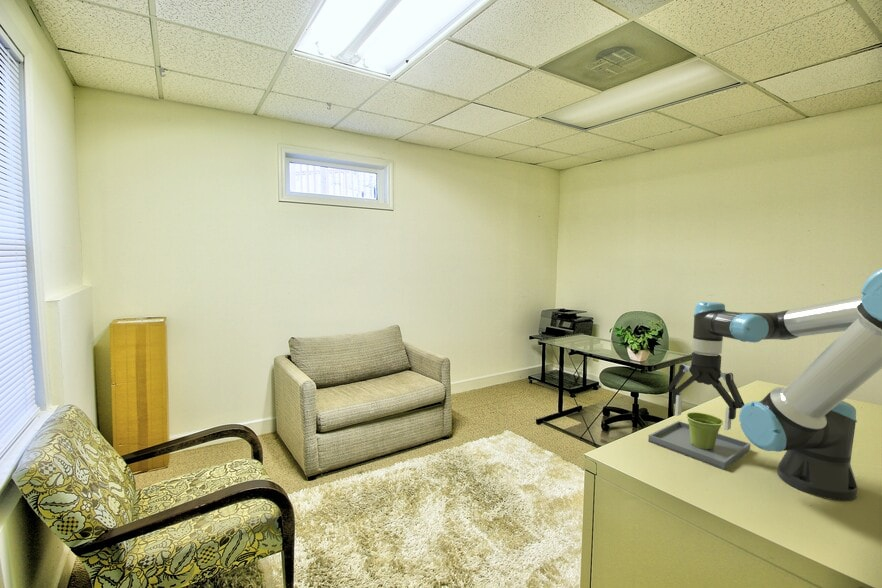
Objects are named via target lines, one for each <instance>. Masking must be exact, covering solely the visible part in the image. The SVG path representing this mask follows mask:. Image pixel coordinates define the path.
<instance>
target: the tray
mask: <svg viewBox="0 0 882 588" xmlns="http://www.w3.org/2000/svg"><path fill="white" fill-rule="evenodd" d="M647 439H648V440H647V441H648V443H651V444H654V445H656V446H659V447H662V448H664V449H667V450H670V451H673V452H675V453H678V454H679V455H682V456H686V457H688V458H691V459H694V460H697V461H699V462H702V463H703V464H706V465H707V464H708V465H710V466H713V467H714V468H717V469H720V470H723V471H725V470H726V469H728V468H729V467H730V466H731V465H733V464H734V463H735V462H737V461H738V460H739V459H741V458H743V456H744V455H746V454H747V453H749V452H750V451H751V445H752V443H751V442H750V443H749V442H746V441H743V440H739V439H737V438H734V437H731V436H727V435H724V434H721V433H718V435H717V438H716V442H715V446H714V449H707V450H705V449H701V448H697V447H695V446H694V445H693V444H691V443H690V430H689V423H686V422H683V421H681V420H677V421H675V422H673V423H671V424H669V425H667V426H665V427H663V428H660V429H659V430H657V431H654V432H652V433H650V434H648V438H647Z"/></svg>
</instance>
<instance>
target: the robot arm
mask: <svg viewBox="0 0 882 588" xmlns="http://www.w3.org/2000/svg"><path fill="white" fill-rule="evenodd" d="M861 294H862V295H859V296H854V297H849V298H844V299H837V300H833V301H828V302H824V303H823V302H822V303H817V304H813V305H807V306H801V307H797V308H792V309H787V310H782V311H775V312H740V311H739V312H737V311H729V310H728V311H727V310H726V305H725V304H724V303H722V302H715V301H713V302H712V301H699V302H696V304H695V308H694V314H693V317H694V318H693V334H692V346H691V350H692V351H693V352H691V360H690V361H691V362H690V363H691V364H690V366H689V365H687V364H686V363H683V364H680V365H679V366H678V367H679V368H678V371H677V372H676V374H675V376H674V377H673V379H672V381H670V383H669V384H668V386H667V388H666V390H667V391H668V392H671V393H672V394H673V395H672V403H673V404H674V405H675V408H674V409H675V410H674V415H675V416H676V417H678V416H680V415H682V409H683V406H682V405H683V395H684V394H682V393H681V392H683V391H684V390H685V389H687V388H688V387H690V385H692V384H693V383H695V381H696V383H699V384H704V385H707V386H709V385H711V387H713V388H714V389H715V390H716V391H717V393H718V394H719V395H720V396H721V398H722V400H723V401H724V402H725V403H726V405H727V406H726V407H725V416H724V431H729V430H731V428H732V421H733V420H735V419H736V416H737V409H739V410H740V411H739V416H738V417H739V418H738V419H739V420H738V421H739V422H740V424H739V425H740V427H741V428H740V429H741V430H742V432H743V434H744V435H745V437H746V438H747V439H748V441H749V442H750V444H751V445H754V446H755V447H756V448H758V449H760V450H762V451H767V452H777V453H779V452H781V453H782V452H784V455H783V457H782V458H781V460H780V461H779V463H778V465H777V471H776V472H777V476H778V477H779V478H780V479H781V480H782V481H784V482H785V483H786V484H787V485H789V486H791V487H794V488H796V489H797V490H800V491H802V492H804V493H807V494H811V495H814V496H816V497H820V498H824V499H827V500H828V499H829V500H835V501H841V502H842V501H845V502H849V501H853V500H855V499H857V498H858V497H857V496H858V483H857V481H856V479H855V478H856V477H855V475H854V471H853V468H852V465H851V461H852V453H853V447H854V446H853V445H854V438H855V429H856V424H857V420H858V419H857V410H856V407H854V406H853V405H852V404H851V403H848V402H846V401H844V400H845V399H847V397H849V396H850V395H851V394H853V393H854V392H855V391H857V390H858V389H859V388H860V387H862V386H863V384H865V382H867V381H869V379H871V378H872V377H874V376H875V375H876V374H877V373H878V372H879V371H881V370H882V267H881V268H879V269H878V270H876V271H875V272H873V273H872V274H871V275H870V276H869V277H868V278H867V279H866V280H865V282H864V283H863V285H862V288H861ZM837 332H841V334H840V335H839V336H838V337H837V338H836V339H835V340H833V341H832V342H831V343H830V345H828V347H827V348H825V350H823V351H822V352H821V353H819V355H818V356H817V357H816V358H815V359H814V360H813V361H812V362H810V364H809V365H807V367H805V369H803V370H802V371H801V372H800V374H798V375H797V376H796V377H795V378H793V380H792V381H791V382H789V383H788V385H787V386H785V387H784V386H783V387H781V386H780V387H774V388H773V389H772V390H771V391H770V392H769V393H767V394H766V395H765V396H764V397H763V399H761V400H759V401H755V400H754V401H751V402H750V401H749V402H747V403H745V402H744V400H743V398H742V396H741V394H740V391H739V390H738V387H737V384H736V382H735V381H734V374H733V372H727V373H726V372H722V370H721V367H722V355H720V354H722V353H723V343H724V342H723V341H724V340H723V339H724V338H727V339H733V340H737V341H740V342H748V343H759V342H760V341H763V340H764V341H765V340H780V341H782V340H784V341H786V340H794V339H797V338H800V337H808V336H814V335H815V336H816V335H823V334H830V333H837ZM688 371H689V372H690V374H691V375H690V377H689V378H687V379H686V380H685V381H683V382H682V383H681V384H680V385H679V386H678V384H679V383H680V381H681V380H682V379H683V377H684V375H686V373H687V372H688ZM721 378H723V381H725V384H726V386H727V389H728V391H729V392H728V391H727V389H726V388H725V387H724V385H723V383H722V382H721V380H720V379H721ZM729 393H730V394H729Z"/></svg>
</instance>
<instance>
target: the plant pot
mask: <svg viewBox="0 0 882 588" xmlns="http://www.w3.org/2000/svg"><path fill="white" fill-rule="evenodd" d="M685 416H686V418H687V422H688V424H689V430H690V443H691V444H693V445H694V446H695V447H697V448H701V449H705V450H707V449H714V446H715V442H716V438H717V435H718V434H719V431H720V429H721V427H722V425H723V424H724V421H723V420H722V419H721V418H719V417H717V416H714V415H711V414H707V413H702V412H688V413H686V414H685Z"/></svg>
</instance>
